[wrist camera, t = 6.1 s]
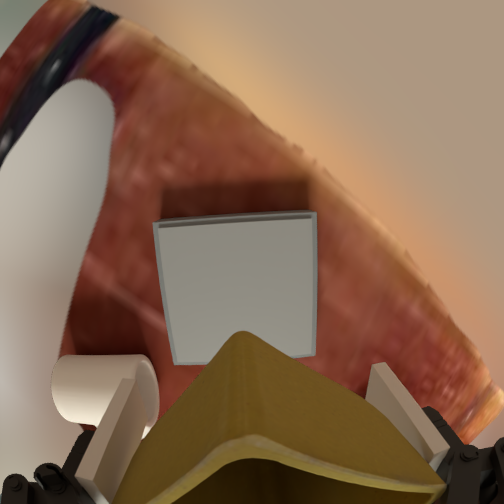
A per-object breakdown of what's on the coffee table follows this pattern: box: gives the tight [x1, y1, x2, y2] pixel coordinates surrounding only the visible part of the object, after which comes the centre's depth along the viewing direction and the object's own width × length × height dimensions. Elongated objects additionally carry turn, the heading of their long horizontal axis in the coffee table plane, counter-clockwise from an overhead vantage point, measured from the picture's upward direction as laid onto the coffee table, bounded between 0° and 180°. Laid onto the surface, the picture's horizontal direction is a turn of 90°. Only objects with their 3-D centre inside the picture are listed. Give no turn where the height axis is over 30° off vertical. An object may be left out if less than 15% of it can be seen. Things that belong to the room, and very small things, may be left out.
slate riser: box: [153, 210, 317, 365], centre depth 28 cm, size 14×14×3 cm
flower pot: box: [111, 331, 447, 504], centre depth 10 cm, size 9×9×9 cm
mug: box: [51, 354, 159, 439], centre depth 27 cm, size 12×10×8 cm
